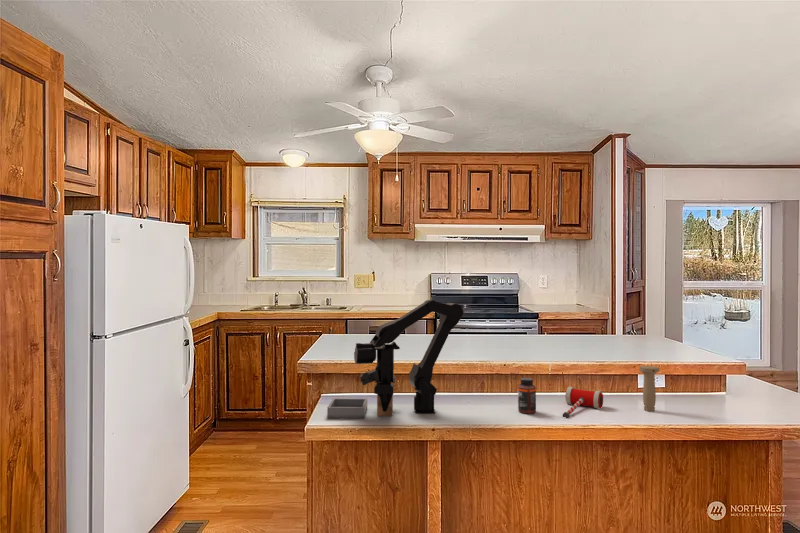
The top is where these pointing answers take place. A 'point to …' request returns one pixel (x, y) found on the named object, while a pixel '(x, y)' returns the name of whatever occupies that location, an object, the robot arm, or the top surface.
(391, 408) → the walnut block
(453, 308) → the robot arm
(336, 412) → the grey square tray
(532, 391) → the supplement bottle
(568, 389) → the toy hammer
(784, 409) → the top surface
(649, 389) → the handle
